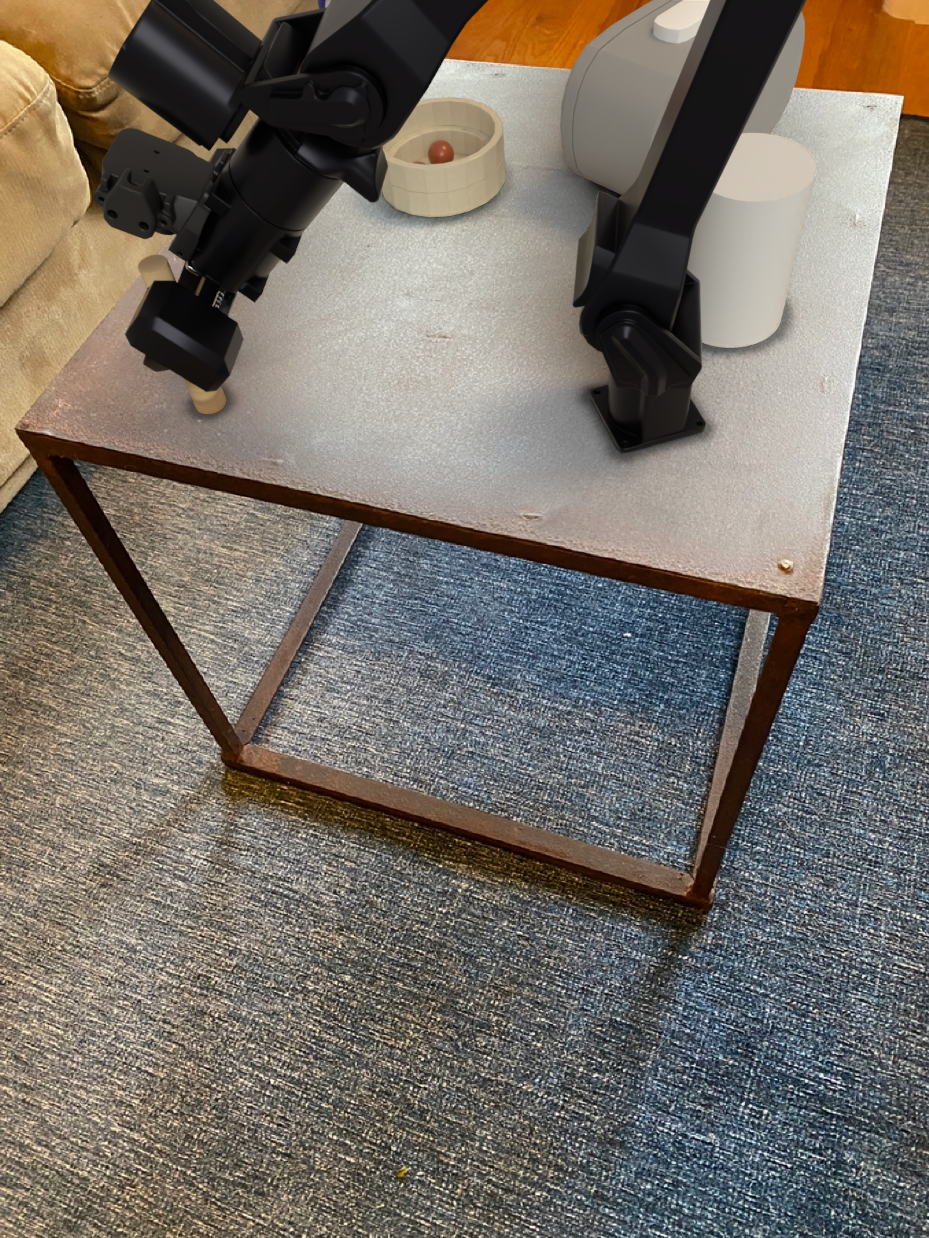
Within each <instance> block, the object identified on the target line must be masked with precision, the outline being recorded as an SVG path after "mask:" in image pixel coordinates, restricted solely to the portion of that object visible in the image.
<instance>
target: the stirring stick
mask: <svg viewBox="0 0 929 1238" xmlns="http://www.w3.org/2000/svg"><path fill="white" fill-rule="evenodd" d="M137 269H138V272H139V274H140V276H141V279H142V281H143V284H144V285H145V288H146V289H147V288H148V287H150V286H151V284H152V283H153V281H154V280H174V281H176V282H177V280H176V277H175V275H174V273H173V269H172V268H171V265H170V262H169V260H168V258H167V257H166V256H165V255H162V254H150V255H148V256H145V257H143V258H142V259H141V260H140V261H139V263H138V265H137ZM182 379H183V382H184V384H185V387H186V389H187V391H188V393H189V395H190V398H191V400H192V403H193V404H194V407H195V409H196V411H197V412H198V413H200V414H203V415H213V414H216V413H218V412H220V411H222V410H223V409H224V407H225V406H226V404H227V397H226V395H225V392H224V390H223V387H222V385H221V386H220V388H219V389H218V390H217V391H211V392H205V391H204V390H202V389H200V388H199V387H197V386H196V385H194V384H192V383H191V382H189V381H187V380H186V379H184V378H182Z"/></svg>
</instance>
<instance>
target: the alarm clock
mask: <svg viewBox="0 0 929 1238" xmlns="http://www.w3.org/2000/svg"><path fill="white" fill-rule="evenodd" d="M709 2H710V0H650V1H649V2H647V3H645V4H644V5H642V6H641V7H638V8H637V9H636V10H633V12H632V11H631V12H630V13H629V14H627V15H626V16H623V17H622V18H621V19H619V20H617V21H616V22H614V23H612V24H611V25H610V26H608V27H607V28H606V29H604V30H603V31H602V32H601V33H600V34H599V35H597V36H596V37H594V39H592V40H590V41H589V43H587V44H586V45H584V47H583V49H582V51H581V52H580V54H579V56H578V57H577V58H576V60H575V62H574V63H573V65H572V67H571V70H570V73H569V76H568V77H567V80H566V84H565V88H564V92H563V96H562V102H561V106H560V107H561V108H560V121H559V122H560V123H559V131H560V143H561V144H560V145H561V150H562V153H563V158H564V161H565V164H566V165H567V166H568V168H570V170H571V171H572V172H573V173H574V174H575V175H578V176H580V177H581V178H585V179H586V180H589V181H591V182H592V183H595V184H597V185H599V186H601V187H603V188H605V189H607V190H610V191H612V192H614V193H617V194H619V195H620V196H622V195H623V194H624V193H625V192H626V191H627V190H628V189H629V188H630V187H631V186H632V185H633V183H634V182H635V181H636V179H637V177H638V176H639V174H640V171H641V169H642V166H643V164H644V161H645V159H646V157H647V154H648V152H649V149H650V147H651V144H652V142H653V139H654V137H655V134H656V132H657V130H658V127H659V125H660V122H661V120H662V117H663V115H664V112H665V110H666V107H667V105H668V102H669V100H670V98H671V95H672V93H673V90H674V88H675V85H676V83H677V80H678V78H679V75H680V73H681V71H682V68H683V66H684V63H685V61H686V58H687V56H688V53H689V51H690V48H691V46H692V43H693V41H694V39H695V36H696V34H697V31H698V29H699V26H700V24H701V21H702V19H703V16H704V14H705V12H706V9H707V7H708V4H709ZM805 28H806V21H805V17H804V13H803V10H802V11H801V13H800V15H799V17H798V19H797V21H796V23H795V25H794V27H793V29H792V31H791V33H790V35H789V37H788V39H787V42H786V44H785V46H784V48H783V50H782V52H781V54H780V56H779V58H778V60H777V62H776V64H775V66H774V68H773V70H772V72H771V74H770V76H769V78H768V80H767V83H766V85H765V87H764V89H763V91H762V93H761V95H760V97H759V99H758V101H757V103H756V105H755V107H754V109H753V111H752V113H751V115H750V117H749V119H748V121H747V124H746V126H745V128H744V130H743V132H742V133H766V134H772V133H773V131H774V130H775V128H776V126H777V125H778V123H779V122H780V120H781V118H783V117H782V116H783V114H784V112H785V110H786V108H787V106H788V104H789V102H790V99H791V96H792V94H793V91H794V88H795V85H796V82H797V79H798V74H799V71H800V67H801V62H802V59H803V58H802V57H803V52H804V47H805V36H806V33H805V32H806V31H805V30H806V29H805Z"/></svg>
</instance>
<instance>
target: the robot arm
mask: <svg viewBox="0 0 929 1238" xmlns="http://www.w3.org/2000/svg"><path fill="white" fill-rule="evenodd" d="M488 1H489V0H331V1H330V3H329V5H328V7H326V8H321V9H319V8H317V9H313V10H307V11H301V12H298V13H292V14H287V15H282V16H277V17H274V18H273V19H272V20H271V22H270V24H269V26H268V28H267V30H266V32H265V34H264V35H263V37H262V38H261V39H260V38H259V37H258V36H257V35H256V34H255V33H254V32H252V31H251V30H250V29H249V28H247V27H246V26H245V25H244V24H242V22H240V21H239V20H238V19H236V17H234V16H233V15H232V14H231V13H229V11H228V10H227V9H225V8H224V7H222V6H221V5H220V4H219V3H218V2H217V1H215V0H150V1H149V2H148V4H147V5H146V7H145V9H143V11H142V13H141V15H140V16H139V18H138V19H137V20H136V23H135V24H134V25H133V27H132V28H131V30H130V31H129V33H128V35H127V37H126V38H125V40H124V41H123V43H122V45H121V46H120V48H119V50H118V52H117V54H116V56H115V58H114V60H113V62H112V65H111V66H110V68H109V71H108V73H107V78H108V79H109V80H111V81H112V82H113V83H114V84H116V85H117V86H119V88H122V89H123V90H124V91H125V92H127V93H128V94H130V95H131V96H132V97H133V98H135V99H136V100H137V101H139V102H140V103H141V104H143V105H144V106H145V107H146V108H148V109H149V110H151V111H152V112H154V113H155V114H156V115H157V116H159V117H160V118H161V119H162V120H163V121H165V122H166V123H168V124H169V125H170V126H172V127H173V128H175V129H176V130H177V131H179V132H180V133H181V134H182V135H184V136H185V137H186V138H188V139H189V140H190V141H192V142H193V143H195V145H197V146H198V147H203V148H204V149H206V150H207V151H208V152H210V151H212V149H213V147H214V146H215V144H216V143H217V142H218V141H219V140H221V141H222V142H223V143H225V144H226V145H227V144H229V142H230V141H231V139H232V138H233V137H234V135H235V133H236V132H237V131H238V129H239V127H240V126H241V124H242V122H243V121H244V119H245V118H246V116H247V115H248V113H249V112H251V113H253V114H254V116H257V119H256V120H255V121H254V123H253V125H252V126H251V127H250V129H249V130H248V132H247V133H246V134H245V136H244V137H243V139H242V140H241V142H240V143H239V145H238V146H237V148H235V147H221V148H220V147H219V148H217V147H216V149H215V150H214V152H213V153H212V155H211V156H210V158H209V160H206V159H204V158H202V157H200V156H198V155H197V154H196V153H195V152H193V151H192V150H190V149H189V148H186V147H184V146H181V145H178V144H176V143H173V142H171V141H169V140H166V139H164V138H161V137H158V136H156V135H153V134H151V133H148V132H146V131H143V130H140V129H139V128H138V129H137V128H132V127H129V128H128V127H127V128H123V129H120V131H119V132H118V133H117V135H116V136H115V138H114V140H113V142H112V143H111V145H110V146H109V148H108V149H107V152H106V153H105V155H104V157H103V158H102V161H101V177H100V182H99V185H98V187H97V188H96V190H95V192H94V194H93V200H94V201H95V203H96V204H97V205H98V206H99V207H100V209H101V212H102V214H103V215H102V216H103V220H104V221H105V222H106V223H107V224H108V226H109V227H111V228H113V229H115V230H118V231H120V232H123V233H126V234H128V235H132V236H134V237H137V238H138V239H139V238H140V239H142V240H149V239H151V238H153V237H154V234H155V233H157V234H159V235H163V236H174V235H175V236H174V237H173V239H172V240H171V243H170V244H169V246H168V249H167V250H168V252H171V253H172V254H173V255H175V256H176V257H178V258H179V259H180V260H182V261H184V263H183V266H182V269H181V272H180V275H179V277H178V279H177V280H176V281H174V280H154V281H153V283H152V284H151V286H150V287H148V288H146V291H145V293H144V294H143V297H142V299H141V301H140V302H139V304H138V306H137V308H136V311H135V312H134V314H133V316H132V318H131V321H130V323H129V324H128V327H127V328H126V330H125V333H124V335H125V338H126V340H127V341H128V343H129V346H130V347H132V348H133V349H135V350H137V351H138V352H139V353H142V354H143V355H144V358H143V361H142V364H143V366H145V368H148V369H150V370H151V371H153V372H154V373H159V372H166V371H171V372H173V373H174V374H176V375H177V376H179V377H181V378H182V379H183V378H184V379H186V380H187V381H189V382H191V383H192V384H194V385H196V386H197V387H199V388H200V389H202V390H204V391H205V392H211V391H217V390H218V389H219V388H220V386H221V387H222V386H223V384H224V383H225V382H226V381H227V380H228V378H230V376H231V375H232V372H233V369H234V367H235V364H236V361H237V358H238V355H239V353H240V350H241V347H242V345H243V342H244V340H245V339H244V335H243V333H242V331H241V328H240V325H239V322H238V321H237V320H235V319H233V318H232V317H230V315H229V314H230V312H231V309H232V308H233V305H234V302H235V299H236V297H237V295H238V293H240V294H241V295H242V296H244V297H245V298H246V299H248V300H250V301H251V302H253V303H254V304H255V303H256V302H257V301H258V300H259V299H260V297H261V296H262V295H263V293H264V290H265V288H266V285H267V282H268V279H269V277H270V274H271V272H273V270H274V269H275V268H276V266H277V265H278V264H279V263H280V262H281V261H282V262H283V263H284V264H285V265H287V264H289V262H290V261H291V260H292V259H293V258H294V257H295V255H296V253H297V250H298V248H299V245H300V242H301V239H302V236H303V233H304V232H305V231H306V230H307V229H308V227H309V226H310V225H311V223H312V222H313V221H314V220H315V219H316V218H317V216H318V215H319V214H320V213H321V211H322V210H323V209H324V208H325V207H326V205H327V204H328V203H329V202H330V201H331V199H332V198H333V197H334V195H335V194H336V193H337V192H338V190H340V188H341V187H342V186H343V184H346V185H347V186H349V187H350V189H352V190H354V191H355V192H356V193H357V194H359V195H360V196H361V197H362V198H363V199H365V200H366V201H367V202H368V203H371V204H376V203H378V201H379V199H380V196H381V193H382V191H381V190H382V186H383V183H384V179H385V176H386V173H387V169H388V163H387V161H386V157H385V153H384V151H383V145H384V144H386V143H387V142H389V141H390V140H392V139H393V138H394V137H395V136H396V135H397V134H398V132H399V131H400V130H401V128H402V127H403V125H404V124H405V122H406V121H407V119H408V118H409V116H410V115H411V113H412V112H413V110H414V109H415V107H416V106H417V104H418V103H419V101H421V100H422V99H423V97H424V96H425V94H426V92H427V91H428V89H429V88H430V87H431V84H432V83H433V80H434V79H435V77H436V75H437V73H438V72H439V70H440V68H441V66H442V65H443V62H444V61H445V59H446V58H447V55H448V54H449V52H450V50H451V48H452V47H453V45H454V43H455V42H456V40H457V39H458V37H459V36H460V35H461V34H462V33H461V32H462V31H463V30H464V29H465V27H466V25H467V24H468V23H469V22H470V21H471V19H472V18H474V16H475V15H476V14H477V13H478V12H479V11H480V10H481V9H482V8H483V7H484V6H485V5H486V4H487V3H488ZM807 1H808V0H710V2H709V4H708V7H707V9H706V12H705V14H704V16H703V19H702V21H701V24H700V26H699V29H698V31H697V34H696V36H695V39H694V41H693V43H692V46H691V48H690V51H689V53H688V56H687V58H686V61H685V63H684V66H683V68H682V71H681V73H680V75H679V78H678V80H677V83H676V85H675V88H674V90H673V93H672V95H671V98H670V100H669V102H668V105H667V107H666V110H665V112H664V115H663V117H662V120H661V122H660V125H659V127H658V130H657V132H656V134H655V137H654V139H653V142H652V144H651V147H650V149H649V152H648V154H647V157H646V159H645V161H644V164H643V166H642V169H641V171H640V174H639V176H638V177H637V179H636V181H635V182H634V183H633V185H632V186H631V187H630V188H629V189H628V190H627V191H626V192H625V193H624V194H623V195H620V197H619V198H618V197H616V196H613V195H611V194H609V193H608V192H605V191H603V190H599V191H598V190H597V191H598V192H597V194H596V199H595V205H594V212H593V216H592V218H591V222H590V223H589V226H588V228H587V230H585V232H584V233H583V234H582V235H581V236H580V237H579V238H578V241H577V251H576V260H575V261H576V262H575V274H574V283H573V295H572V307H573V308H575V309H577V308H579V316H578V330H579V334H580V335H581V336H583V338H584V340H585V342H586V343H587V344H588V346H591V347H592V348H593V349H594V350H595V351H597V352H599V353H601V354H602V355H603V356H602V357H603V358H604V360H605V361H604V362H605V364H606V365H607V368H608V381H607V382H608V383H607V384H605V385H602V386H597V387H595V388H592V389H591V390H590V394H589V395H590V396H589V397H590V400H591V402H592V404H593V405H594V407H595V410H596V411H597V413H598V415H599V417H600V419H601V421H602V423H603V425H604V426H605V428H606V430H607V431H608V434H609V435H610V438H611V439H612V441H613V444H614V445H615V447H616V448H617V450H618V452H620V453H622V454H629V453H632V452H636V451H639V450H643V449H646V448H650V447H653V446H657V445H660V444H664V443H668V442H671V441H672V442H673V441H675V440H678V439H683V438H686V437H689V436H693V435H697V434H700V433H703V432H705V430H706V426H707V424H706V423H707V422H706V420H705V419H704V417H703V415H702V413H700V411H699V409H698V408H697V406H696V405H695V403H694V401H693V400H692V398H691V396H692V391H693V390H692V389H693V384H694V382H695V380H696V379H697V377H698V376H699V374H700V373H701V371H702V370H703V345H702V344H703V343H702V338H701V294H700V280H699V279H698V278H696V277H695V276H694V275H693V274H692V273H691V272H690V271H689V270H688V269H687V267H688V262H689V257H690V251H691V246H692V241H693V237H694V233H695V229H696V226H697V224H698V222H699V220H700V218H701V216H702V214H703V212H704V210H705V208H706V206H707V203H708V201H709V199H710V197H711V195H712V193H713V191H714V189H715V187H716V185H717V183H718V181H719V179H720V177H721V175H722V173H723V171H724V169H725V167H726V165H727V162H728V160H729V158H730V156H731V154H732V152H733V150H734V148H735V146H736V144H737V142H738V140H739V138H740V136H741V134H742V132H743V130H744V128H745V126H746V124H747V121H748V119H749V117H750V115H751V113H752V111H753V109H754V107H755V105H756V103H757V101H758V99H759V97H760V95H761V93H762V91H763V89H764V87H765V85H766V83H767V80H768V78H769V76H770V74H771V72H772V70H773V68H774V66H775V64H776V62H777V60H778V58H779V56H780V54H781V52H782V50H783V48H784V46H785V44H786V42H787V39H788V37H789V35H790V33H791V31H792V29H793V27H794V25H795V23H796V21H797V19H798V17H799V15H800V13H801V11H802V12H803V8H804V7H805V5H806V3H807ZM184 379H183V380H184Z"/></svg>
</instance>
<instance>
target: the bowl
mask: <svg viewBox="0 0 929 1238" xmlns="http://www.w3.org/2000/svg"><path fill="white" fill-rule="evenodd" d="M437 140H444V141H447V142H448V143H450V145H451V146H452V148H453V150H454V159H453V161H451V162H447V163H442V164H431V163H430V161H429V158H428V151H429V148H430V146H431V145H432V144H433V143H434V142H435V141H437ZM383 151H384V153H385V157H386V161H387V163H388V169H387V173H386V176H385V179H384V183H383V186H382V190H381V193H382V195H383V198H384V200H385V201H386V202H387V203H388V204H390V205H391V206H392V207H393V208H394V209H395V210H398V211H401V212H404V213H406V214H409V215H412V216H419V217H425V218H441V217H450V216H455V215H456V216H457V215H460V214H463V213H468V212H471V211H473V210H475V209H477V208H479V207H481V206H483V205H485V204H487V203H489V202H490V201H491V200H492V199H494V197H495V196H496V195H498V194H499V192H500V191H501V189H502V187H503V185H504V183H505V181H506V158H505V139H504V122H503V120H502V118H501V116H500V115H499V114H498V111H496V110H495V109H493V108H492V107H491V106H489V105H487V104H486V103H484V102H481V101H478V100H474V99H471V98H468V97H467V98H465V97H458V96H444V97H443V96H441V97H431V98H426V99H421V100H420V101H419V103H418V104H417V106H416V107H415V109H414V110H413V112H412V113H411V115H410V116H409V118H408V119H407V121H406V122H405V124H404V125H403V127H402V128H401V130H400V131H399V132H398V134H397V135H396V136H395V137H394V138H393V139H392V140H390V141H389V142H387V143H386V144H384V145H383ZM416 161H420V162H423V163H425V164H426V165H424V164H416V163H413V162H416Z"/></svg>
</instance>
